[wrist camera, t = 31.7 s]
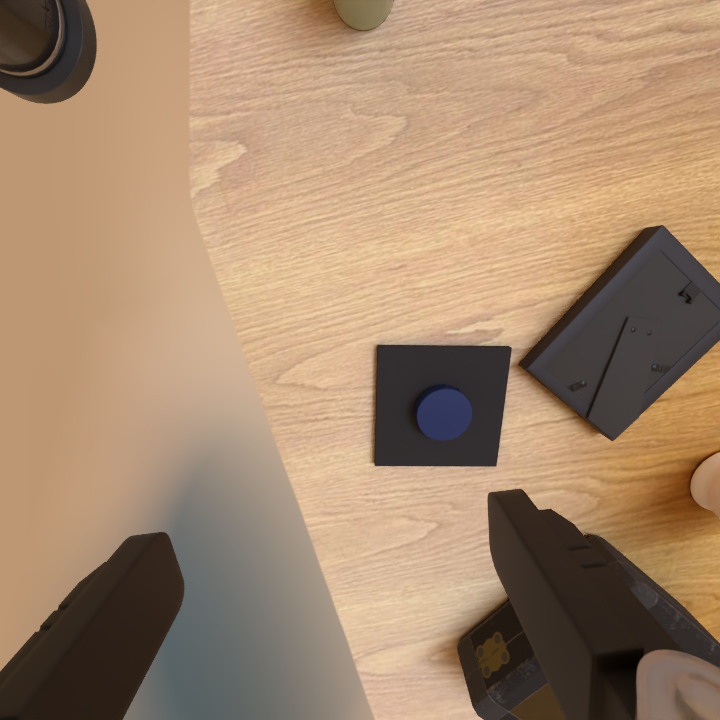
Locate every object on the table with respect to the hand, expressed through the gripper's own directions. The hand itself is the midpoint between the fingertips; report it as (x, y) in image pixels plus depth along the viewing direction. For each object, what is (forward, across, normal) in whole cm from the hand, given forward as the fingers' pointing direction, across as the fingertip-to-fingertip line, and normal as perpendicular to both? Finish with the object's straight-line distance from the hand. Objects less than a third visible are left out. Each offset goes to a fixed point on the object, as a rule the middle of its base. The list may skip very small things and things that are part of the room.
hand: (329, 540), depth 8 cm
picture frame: (+28, -29, +4) cm, 40 cm away
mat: (+28, -9, +9) cm, 31 cm away
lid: (+26, -9, +9) cm, 29 cm away
